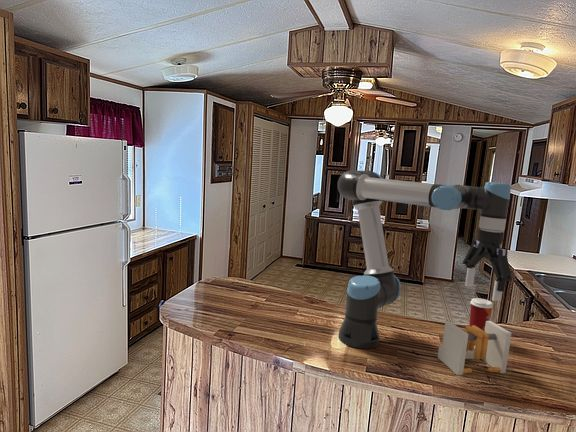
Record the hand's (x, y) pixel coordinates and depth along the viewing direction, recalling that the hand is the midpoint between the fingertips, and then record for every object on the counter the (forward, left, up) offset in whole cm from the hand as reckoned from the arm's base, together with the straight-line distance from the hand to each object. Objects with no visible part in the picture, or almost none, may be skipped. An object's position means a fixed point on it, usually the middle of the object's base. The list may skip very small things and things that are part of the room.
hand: (481, 293), depth 132 cm
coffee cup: (+12, +26, -26) cm, 39 cm away
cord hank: (0, 0, -21) cm, 21 cm away
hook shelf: (0, 0, -26) cm, 26 cm away
